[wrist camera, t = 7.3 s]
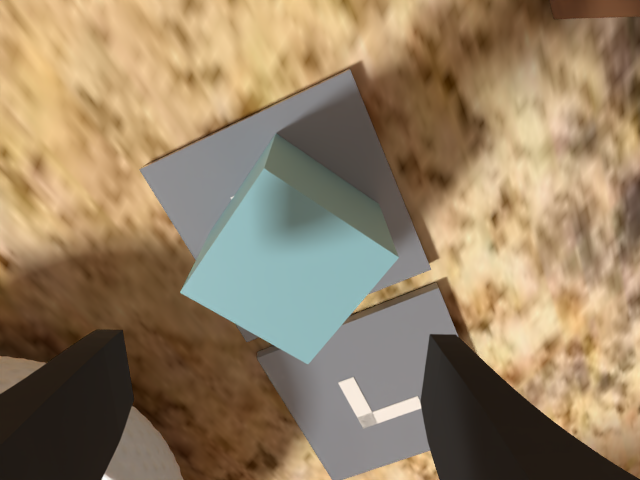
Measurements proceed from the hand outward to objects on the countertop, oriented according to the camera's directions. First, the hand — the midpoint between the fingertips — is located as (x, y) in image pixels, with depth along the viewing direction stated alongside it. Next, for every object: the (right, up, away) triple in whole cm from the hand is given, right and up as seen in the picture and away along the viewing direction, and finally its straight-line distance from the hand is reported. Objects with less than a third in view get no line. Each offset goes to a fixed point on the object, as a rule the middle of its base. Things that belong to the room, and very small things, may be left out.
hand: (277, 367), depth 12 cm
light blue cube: (0, +4, +8) cm, 9 cm away
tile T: (0, +4, +9) cm, 10 cm away
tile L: (+4, -4, +13) cm, 14 cm away
